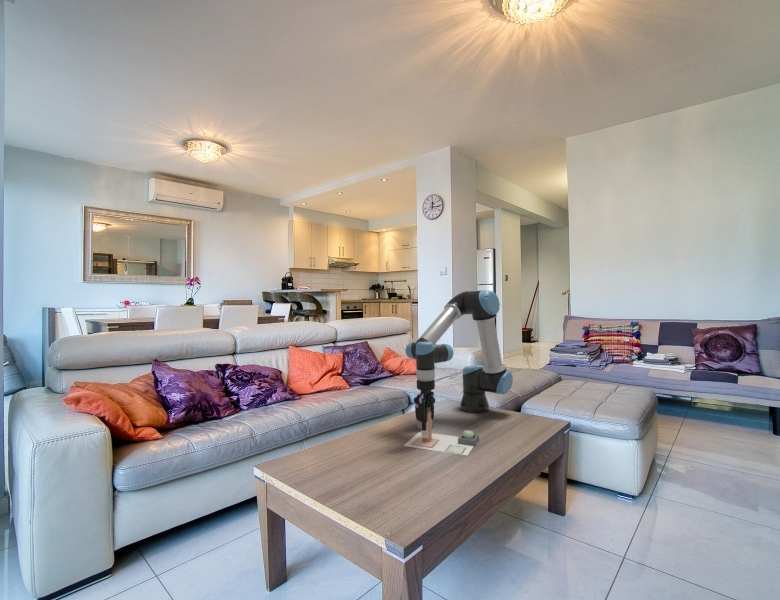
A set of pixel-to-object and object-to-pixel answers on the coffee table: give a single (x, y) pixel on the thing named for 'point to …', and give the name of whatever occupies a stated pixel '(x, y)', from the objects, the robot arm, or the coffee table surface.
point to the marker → (428, 427)
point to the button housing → (468, 440)
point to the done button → (468, 434)
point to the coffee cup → (418, 411)
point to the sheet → (440, 444)
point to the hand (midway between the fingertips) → (426, 435)
